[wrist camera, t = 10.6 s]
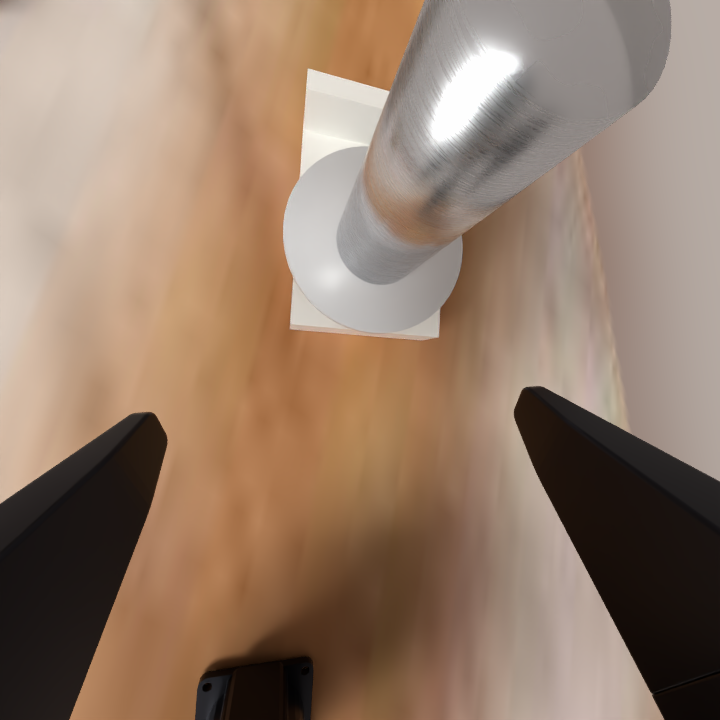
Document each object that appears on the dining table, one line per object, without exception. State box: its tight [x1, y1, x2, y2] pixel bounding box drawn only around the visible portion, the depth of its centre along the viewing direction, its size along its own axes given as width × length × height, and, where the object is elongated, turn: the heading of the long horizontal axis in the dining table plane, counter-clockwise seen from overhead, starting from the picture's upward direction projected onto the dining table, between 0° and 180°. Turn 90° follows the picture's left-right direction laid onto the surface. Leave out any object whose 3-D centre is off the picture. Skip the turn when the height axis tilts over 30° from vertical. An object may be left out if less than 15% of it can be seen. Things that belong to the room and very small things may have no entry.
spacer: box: [336, 0, 671, 285], centre depth 11 cm, size 5×5×12 cm
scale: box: [283, 69, 463, 341], centre depth 18 cm, size 12×10×5 cm
